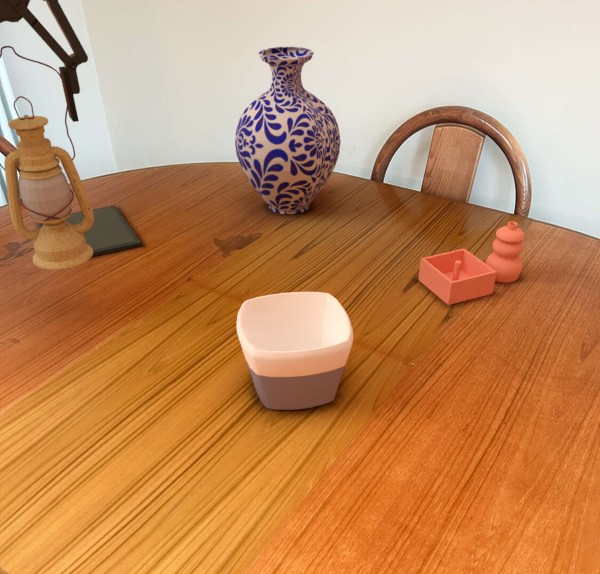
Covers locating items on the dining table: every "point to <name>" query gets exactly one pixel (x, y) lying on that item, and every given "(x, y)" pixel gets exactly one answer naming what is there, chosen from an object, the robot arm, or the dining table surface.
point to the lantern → (46, 193)
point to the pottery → (474, 268)
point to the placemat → (107, 231)
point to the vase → (287, 136)
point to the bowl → (295, 347)
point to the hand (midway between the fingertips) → (30, 124)
